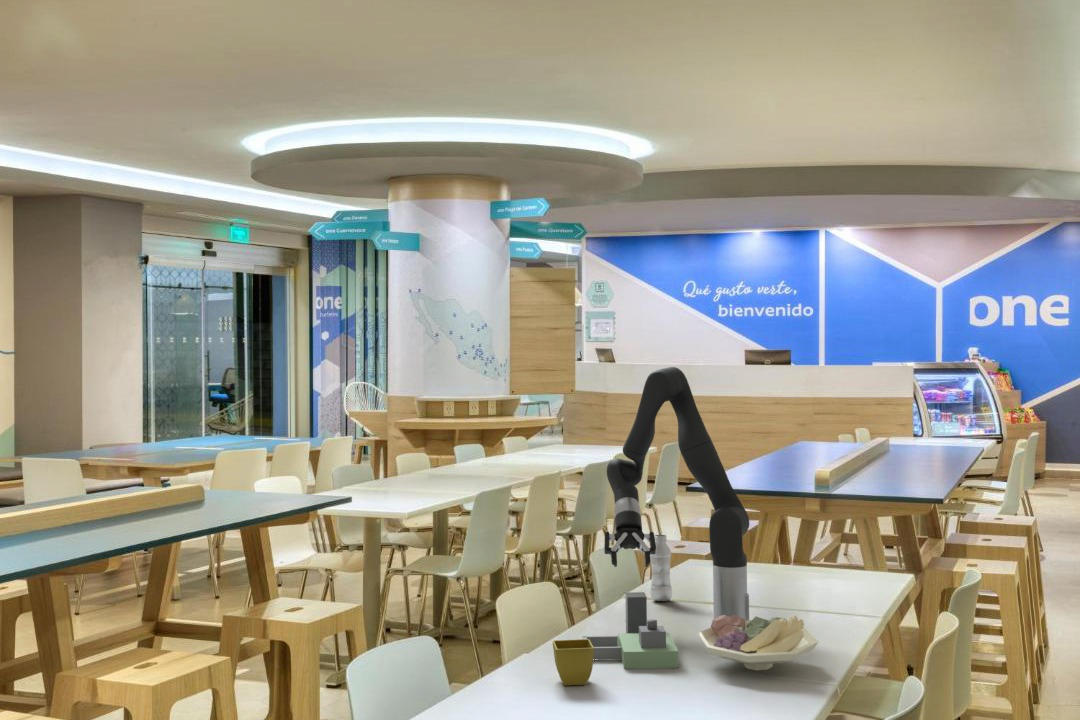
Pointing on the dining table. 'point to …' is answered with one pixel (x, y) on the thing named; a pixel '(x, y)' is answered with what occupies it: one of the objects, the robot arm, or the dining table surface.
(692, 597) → the dining table surface
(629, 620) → the tall grey cuboid
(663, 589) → the plastic bottle
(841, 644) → the dining table surface
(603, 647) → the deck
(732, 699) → the dining table surface
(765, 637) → the dish with food
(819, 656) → the dining table surface
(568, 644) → the flower pot
